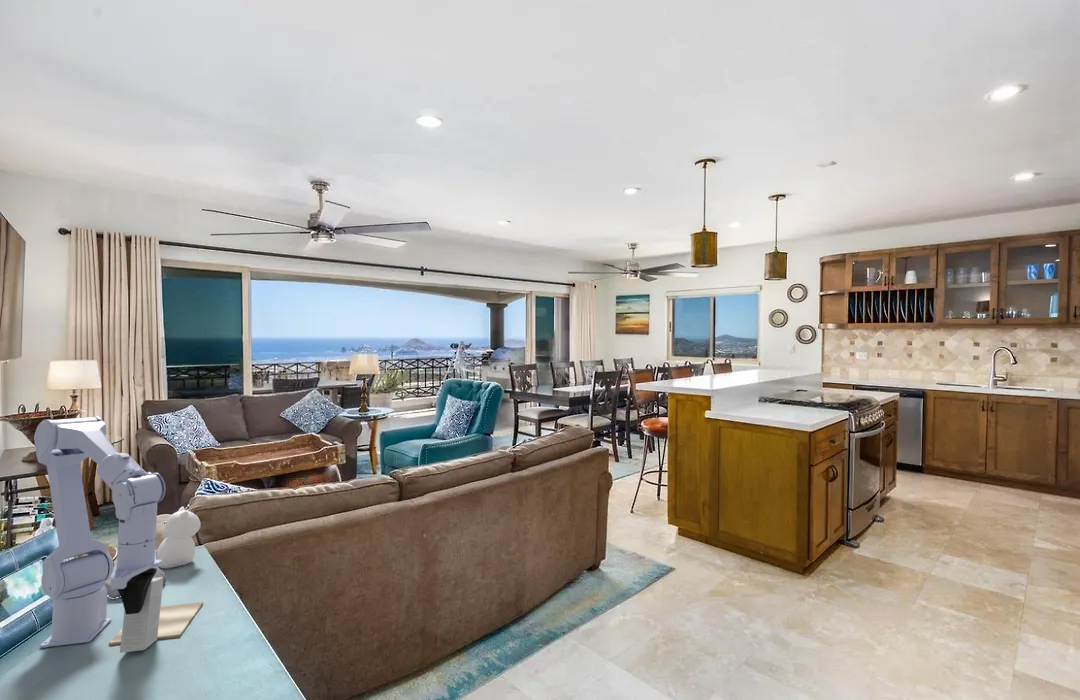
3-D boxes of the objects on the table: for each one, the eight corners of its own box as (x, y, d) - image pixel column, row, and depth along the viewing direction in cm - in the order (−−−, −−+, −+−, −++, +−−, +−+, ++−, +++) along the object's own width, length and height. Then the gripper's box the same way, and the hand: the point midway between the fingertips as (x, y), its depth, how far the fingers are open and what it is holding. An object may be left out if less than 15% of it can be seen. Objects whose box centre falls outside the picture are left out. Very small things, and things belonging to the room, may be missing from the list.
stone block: (169, 591, 130) (147, 575, 134) (172, 573, 130) (149, 558, 134) (114, 612, 119) (92, 595, 124) (116, 593, 119) (94, 576, 123)
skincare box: (132, 643, 103) (140, 578, 105) (157, 640, 104) (164, 576, 106) (118, 653, 97) (126, 585, 99) (144, 650, 98) (152, 582, 101)
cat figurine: (201, 564, 142) (204, 509, 143) (144, 576, 134) (148, 517, 134) (195, 555, 149) (198, 503, 150) (140, 565, 140) (144, 509, 141)
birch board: (141, 610, 116) (141, 608, 116) (202, 604, 119) (203, 601, 119) (108, 645, 102) (108, 642, 102) (179, 637, 105) (180, 634, 105)
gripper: (146, 551, 93) (142, 628, 92) (175, 526, 107) (172, 593, 106) (98, 554, 91) (94, 633, 90) (134, 529, 104) (131, 597, 104)
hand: (133, 612), depth 98 cm, fingers closed
